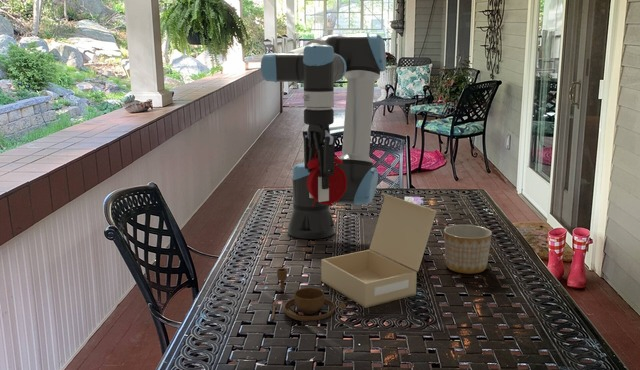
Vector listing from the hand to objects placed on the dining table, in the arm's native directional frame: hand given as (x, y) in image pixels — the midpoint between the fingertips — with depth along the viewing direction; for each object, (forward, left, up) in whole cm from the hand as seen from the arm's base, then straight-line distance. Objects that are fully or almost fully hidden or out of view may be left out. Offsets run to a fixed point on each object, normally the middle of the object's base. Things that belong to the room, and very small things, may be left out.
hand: (319, 198), depth 165 cm
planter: (+15, +38, -21) cm, 46 cm away
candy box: (0, +31, -21) cm, 37 cm away
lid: (+13, +14, -15) cm, 24 cm away
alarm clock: (+2, +2, -2) cm, 3 cm away
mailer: (+13, +6, -21) cm, 26 cm away
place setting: (+14, -11, -22) cm, 28 cm away
